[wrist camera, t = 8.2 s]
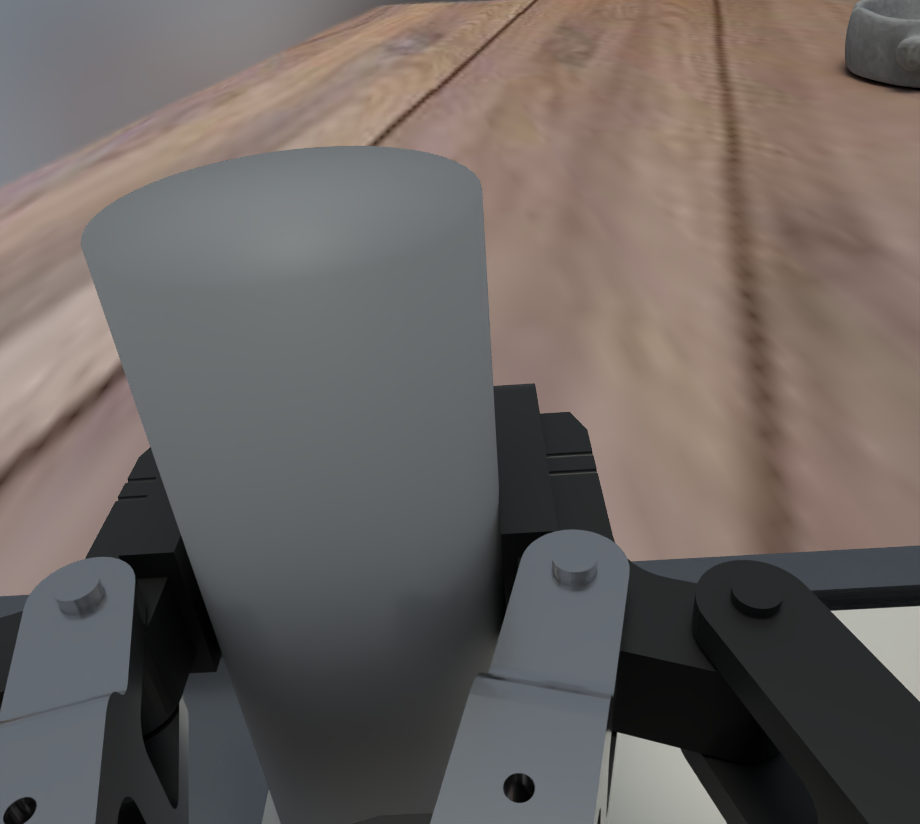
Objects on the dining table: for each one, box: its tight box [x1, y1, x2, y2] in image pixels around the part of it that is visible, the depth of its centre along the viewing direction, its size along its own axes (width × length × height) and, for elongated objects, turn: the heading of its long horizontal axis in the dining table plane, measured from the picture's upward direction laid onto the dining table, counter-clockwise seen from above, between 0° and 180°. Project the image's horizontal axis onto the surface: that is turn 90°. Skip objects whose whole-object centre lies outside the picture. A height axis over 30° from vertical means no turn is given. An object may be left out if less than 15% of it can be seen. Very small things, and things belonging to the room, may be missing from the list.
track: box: [0, 546, 920, 824], centre depth 15 cm, size 34×12×1 cm, turn 90°
